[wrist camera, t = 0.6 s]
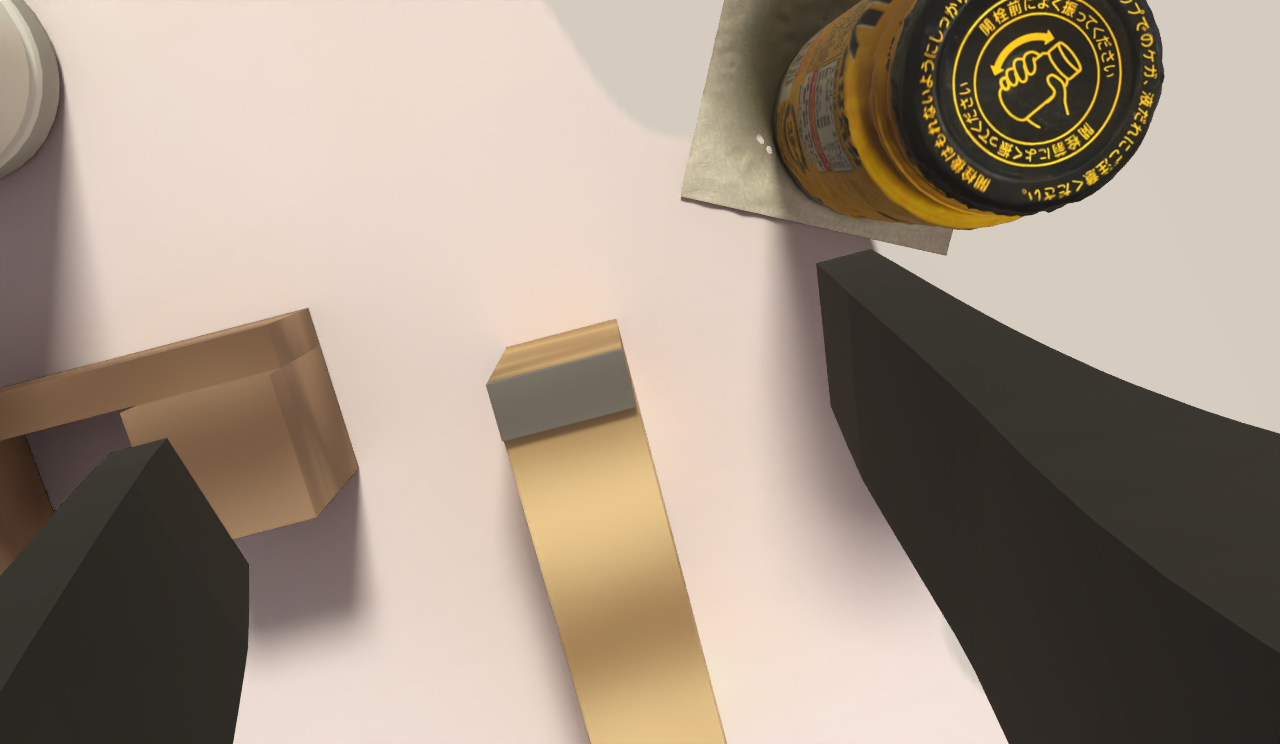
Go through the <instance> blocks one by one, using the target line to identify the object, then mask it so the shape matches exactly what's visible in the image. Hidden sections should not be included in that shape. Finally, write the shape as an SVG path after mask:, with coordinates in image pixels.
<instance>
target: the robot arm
mask: <svg viewBox="0 0 1280 744" xmlns="http://www.w3.org/2000/svg"><path fill="white" fill-rule="evenodd" d="M816 265H817V275H818V285H819V295H820V304H821V314H822V324H823V334H824V343H825V353H826V363H827V373H828V382H829V392H830V402H831V408H832V410H833V412H834V415H835V417H836V419H837V422H838V424H839V427H840V429H841V431H842V434H843V436H844V438H845V441H846V443H847V446H848V448H849V450H850V452H851V455H852V457H853V459H854V461H855V464H856V466H857V468H858V470H859V473H860V475H861V477H862V479H863V481H864V483H865V485H866V486H867V488H868V490H869V492H870V493H871V495H872V497H873V498H874V500H875V502H876V503H877V505H878V507H879V509H880V510H881V512H882V514H883V515H884V517H885V519H886V520H887V522H888V524H889V525H890V527H891V529H892V530H893V532H894V534H895V536H896V537H897V539H898V541H899V542H900V544H901V546H902V547H903V549H904V551H905V552H906V554H907V555H908V557H909V559H910V560H911V562H912V564H913V565H914V567H915V569H916V570H917V572H918V574H919V575H920V577H921V579H922V580H923V582H924V584H925V585H926V587H927V589H928V590H929V592H930V594H931V595H932V597H933V599H934V600H935V602H936V604H937V605H938V607H939V609H940V610H941V612H942V614H943V615H944V617H945V619H946V620H947V622H948V624H949V625H950V627H951V629H952V630H953V632H954V633H955V635H956V637H957V639H958V641H959V643H960V644H961V646H962V648H963V650H964V652H965V654H966V656H967V657H968V659H969V661H970V663H971V665H972V667H973V669H974V670H975V672H976V674H977V676H978V679H979V681H980V683H981V685H982V687H983V689H984V691H985V694H986V696H987V698H988V700H989V702H990V704H991V706H992V709H993V711H994V713H995V715H996V717H997V719H998V721H999V724H1000V726H1001V728H1002V730H1003V732H1004V734H1005V736H1006V739H1007V741H1008V743H1009V744H1280V434H1279V433H1275V432H1272V431H1269V430H1265V429H1262V428H1259V427H1255V426H1252V425H1248V424H1245V423H1241V422H1238V421H1235V420H1232V419H1229V418H1226V417H1223V416H1220V415H1217V414H1214V413H1210V412H1207V411H1204V410H1202V409H1199V408H1196V407H1193V406H1191V405H1188V404H1185V403H1182V402H1180V401H1177V400H1174V399H1172V398H1169V397H1166V396H1164V395H1161V394H1158V393H1155V392H1153V391H1150V390H1147V389H1145V388H1142V387H1139V386H1136V385H1134V384H1132V383H1129V382H1127V381H1124V380H1122V379H1119V378H1117V377H1115V376H1112V375H1110V374H1107V373H1105V372H1103V371H1100V370H1098V369H1096V368H1093V367H1091V366H1089V365H1087V364H1085V363H1083V362H1081V361H1078V360H1076V359H1074V358H1072V357H1070V356H1067V355H1065V354H1063V353H1061V352H1059V351H1056V350H1054V349H1052V348H1050V347H1048V346H1046V345H1044V344H1042V343H1040V342H1038V341H1036V340H1034V339H1032V338H1030V337H1028V336H1026V335H1024V334H1022V333H1019V332H1018V331H1016V330H1014V329H1012V328H1010V327H1008V326H1006V325H1004V324H1002V323H1000V322H998V321H997V320H995V319H993V318H991V317H989V316H987V315H985V314H984V313H982V312H980V311H978V310H976V309H974V308H973V307H971V306H969V305H967V304H965V303H964V302H962V301H960V300H958V299H956V298H955V297H953V296H951V295H949V294H948V293H946V292H944V291H942V290H941V289H939V288H937V287H936V286H934V285H932V284H930V283H929V282H926V281H925V280H923V279H922V278H920V277H918V276H916V275H915V274H913V273H911V272H909V271H908V270H906V269H905V268H903V267H901V266H899V265H898V264H896V263H894V262H893V261H890V260H889V259H887V258H886V257H884V256H882V255H880V254H878V253H877V252H875V251H873V250H871V249H869V250H866V251H862V252H858V253H854V254H851V255H847V256H843V257H839V258H836V259H832V260H828V261H824V262H821V263H817V264H816ZM248 628H249V564H248V563H247V561H246V559H245V558H244V556H243V555H242V553H241V552H240V550H239V549H238V547H237V545H236V544H235V542H234V541H233V539H232V538H231V536H230V535H229V533H228V531H227V530H226V528H225V527H224V525H223V524H222V522H221V521H220V519H219V518H218V516H217V514H216V513H215V511H214V510H213V508H212V507H211V505H210V504H209V502H208V500H207V499H206V497H205V496H204V494H203V493H202V491H201V490H200V488H199V487H198V485H197V483H196V482H195V480H194V479H193V477H192V476H191V474H190V473H189V471H188V469H187V468H186V466H185V465H184V463H183V462H182V460H181V459H180V457H179V455H178V454H177V452H176V451H175V449H174V448H173V446H172V445H171V443H170V442H169V440H168V438H164V439H160V440H157V441H153V442H149V443H145V444H142V445H138V446H134V447H130V448H127V449H123V450H119V451H116V452H112V453H110V454H109V455H108V456H107V457H106V458H105V459H104V460H103V461H102V462H101V463H100V464H99V465H98V466H97V467H96V468H95V469H94V470H93V471H92V472H91V473H90V474H89V475H88V477H87V478H86V479H85V480H84V481H83V482H82V483H81V484H80V485H79V486H78V487H77V489H76V490H75V491H74V492H73V493H72V494H71V495H70V496H69V498H68V499H67V500H66V501H65V502H64V503H63V504H62V505H61V507H60V508H59V509H58V510H57V511H56V512H55V513H54V515H53V516H52V517H51V518H50V519H49V520H48V521H47V523H46V524H45V525H44V526H43V527H42V528H41V530H40V531H39V532H38V533H37V534H36V535H35V537H34V538H33V539H32V540H31V541H30V542H29V543H28V545H27V546H26V547H25V548H24V549H23V550H22V551H21V553H20V554H19V555H18V556H17V557H16V558H15V559H14V561H13V562H12V563H11V564H10V565H9V566H8V567H7V569H6V570H5V571H4V572H3V573H2V574H1V575H0V744H233V740H234V734H235V728H236V722H237V716H238V710H239V703H240V697H241V691H242V684H243V678H244V672H245V665H246V658H247V651H248Z"/></svg>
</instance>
